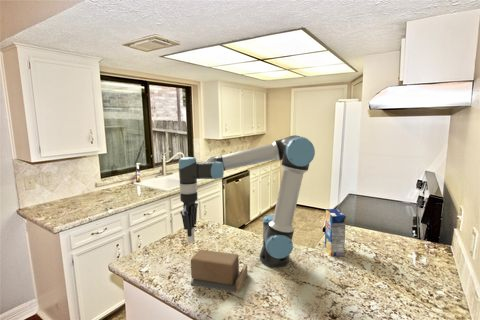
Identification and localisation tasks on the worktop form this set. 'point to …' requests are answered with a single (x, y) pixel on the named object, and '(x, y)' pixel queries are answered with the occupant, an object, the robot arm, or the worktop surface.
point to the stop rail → (241, 278)
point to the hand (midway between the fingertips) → (191, 241)
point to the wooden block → (215, 267)
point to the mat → (216, 285)
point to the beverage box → (335, 232)
